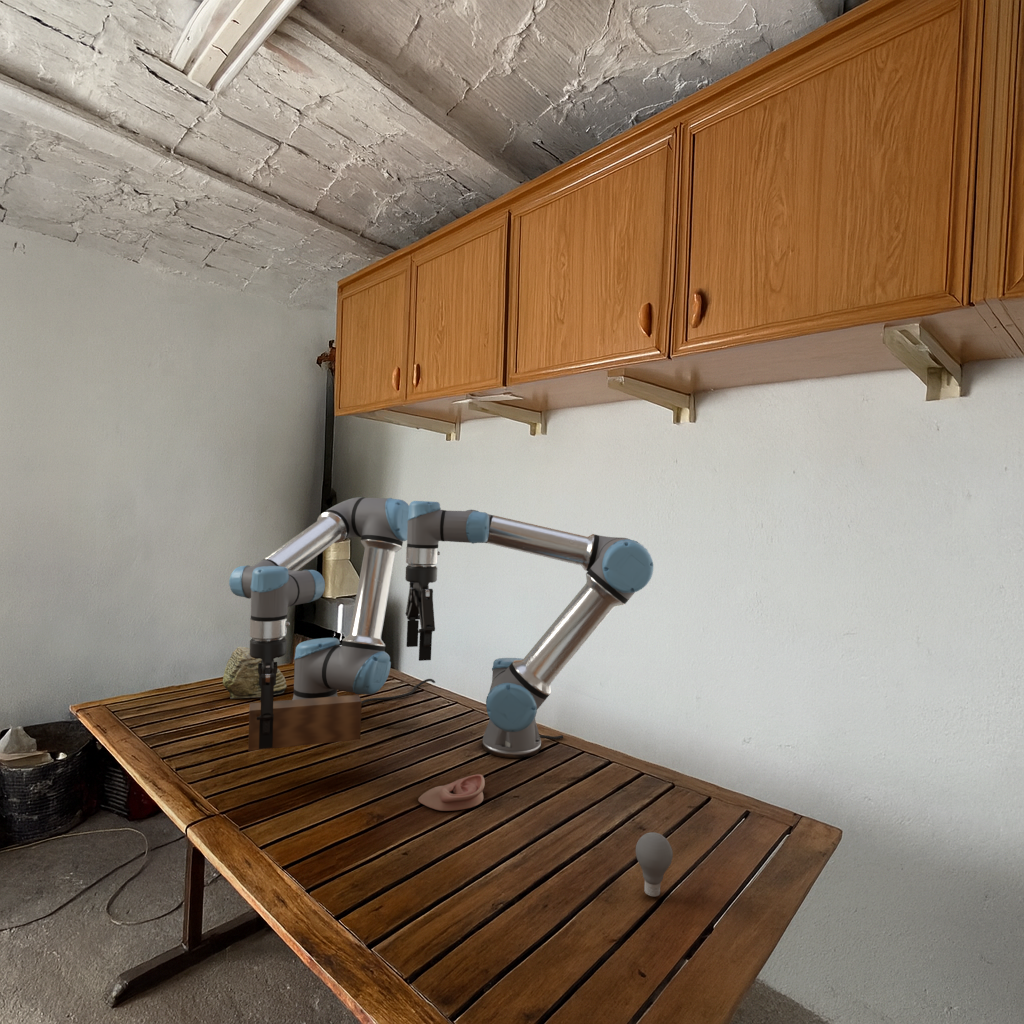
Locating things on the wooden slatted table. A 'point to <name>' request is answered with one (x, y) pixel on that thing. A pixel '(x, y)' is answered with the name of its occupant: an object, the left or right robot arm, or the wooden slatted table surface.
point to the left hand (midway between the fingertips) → (265, 742)
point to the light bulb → (653, 860)
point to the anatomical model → (455, 794)
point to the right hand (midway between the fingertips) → (418, 653)
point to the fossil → (247, 676)
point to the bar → (309, 721)
